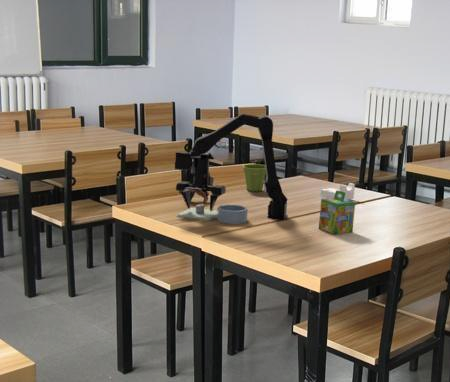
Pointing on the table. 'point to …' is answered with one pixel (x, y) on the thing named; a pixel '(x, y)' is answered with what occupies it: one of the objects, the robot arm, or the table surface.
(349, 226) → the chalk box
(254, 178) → the plant pot
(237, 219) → the bowl
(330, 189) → the bracket
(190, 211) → the lid
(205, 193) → the brown arch
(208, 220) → the mat
